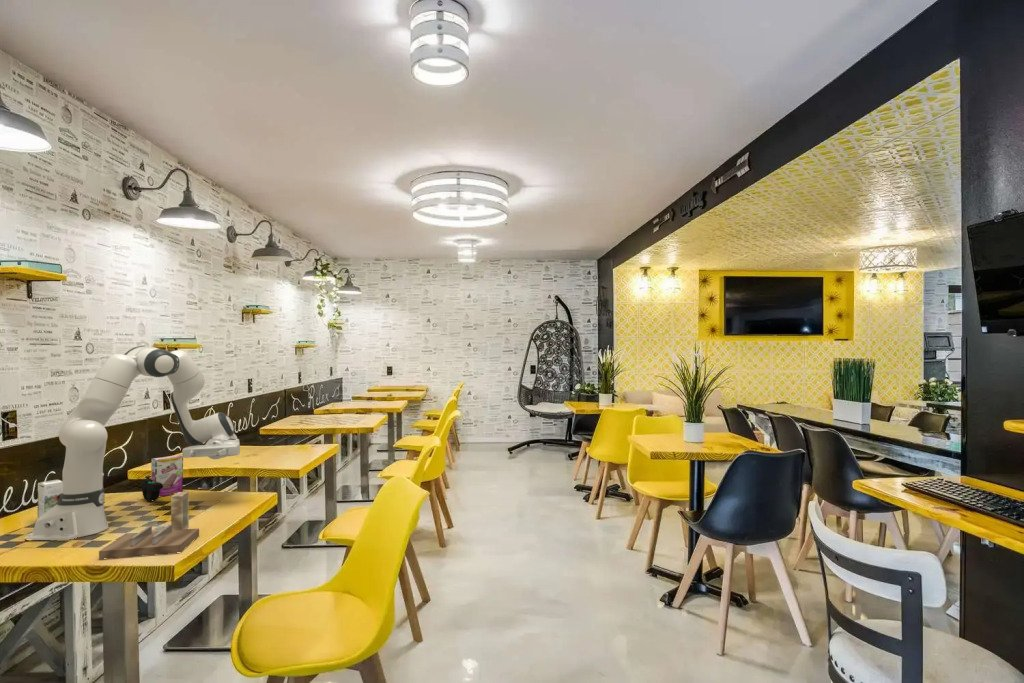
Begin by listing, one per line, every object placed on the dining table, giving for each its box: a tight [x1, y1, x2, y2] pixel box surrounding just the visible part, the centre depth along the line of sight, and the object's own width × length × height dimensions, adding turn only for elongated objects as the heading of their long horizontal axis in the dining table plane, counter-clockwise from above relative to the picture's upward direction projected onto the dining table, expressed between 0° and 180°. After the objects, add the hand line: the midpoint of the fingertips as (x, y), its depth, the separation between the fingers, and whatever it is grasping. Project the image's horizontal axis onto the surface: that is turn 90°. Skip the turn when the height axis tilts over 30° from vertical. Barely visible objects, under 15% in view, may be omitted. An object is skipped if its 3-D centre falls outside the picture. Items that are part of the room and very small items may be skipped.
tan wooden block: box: [170, 491, 190, 530], centre depth 187 cm, size 3×6×13 cm, turn 11°
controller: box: [140, 475, 163, 502], centre depth 227 cm, size 4×12×10 cm, turn 57°
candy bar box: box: [150, 454, 184, 497], centre depth 238 cm, size 11×5×16 cm, turn 144°
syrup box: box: [37, 479, 63, 519], centre depth 203 cm, size 6×6×14 cm
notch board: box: [98, 524, 200, 560], centre depth 172 cm, size 22×16×5 cm
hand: (205, 454), depth 211 cm, fingers open, 8 cm apart
